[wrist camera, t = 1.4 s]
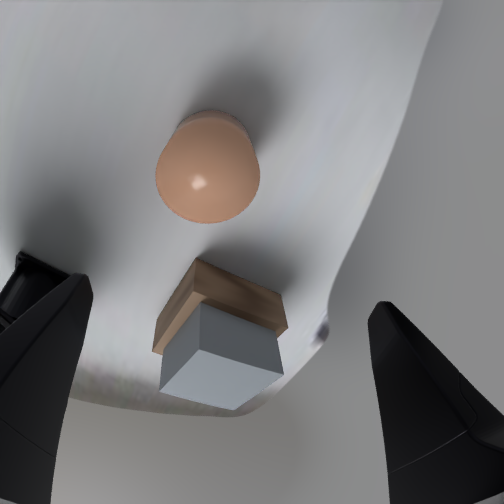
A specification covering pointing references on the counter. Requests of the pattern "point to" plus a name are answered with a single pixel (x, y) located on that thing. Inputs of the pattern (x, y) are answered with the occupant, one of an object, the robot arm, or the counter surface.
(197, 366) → the slate slab
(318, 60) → the counter surface
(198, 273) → the walnut slab
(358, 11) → the counter surface
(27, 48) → the counter surface
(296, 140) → the counter surface
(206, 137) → the terracotta cylinder
